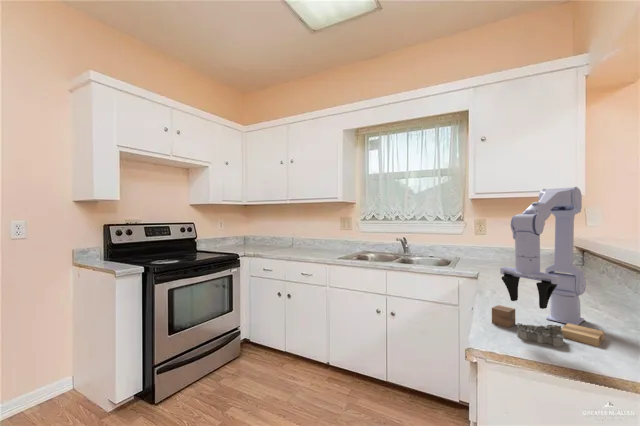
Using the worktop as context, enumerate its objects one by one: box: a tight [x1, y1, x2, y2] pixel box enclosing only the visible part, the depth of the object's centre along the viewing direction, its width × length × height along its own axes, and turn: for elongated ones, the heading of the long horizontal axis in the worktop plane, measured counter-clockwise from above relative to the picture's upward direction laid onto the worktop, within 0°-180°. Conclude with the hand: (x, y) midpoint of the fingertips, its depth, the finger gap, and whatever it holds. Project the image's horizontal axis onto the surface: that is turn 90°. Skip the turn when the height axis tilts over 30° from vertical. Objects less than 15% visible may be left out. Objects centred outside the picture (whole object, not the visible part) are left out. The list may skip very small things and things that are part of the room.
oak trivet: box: [561, 323, 606, 347], centre depth 82 cm, size 8×8×2 cm
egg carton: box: [516, 322, 565, 348], centre depth 82 cm, size 11×8×4 cm
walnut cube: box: [491, 304, 516, 329], centre depth 93 cm, size 5×5×5 cm
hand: (528, 304), depth 81 cm, fingers open, 7 cm apart
